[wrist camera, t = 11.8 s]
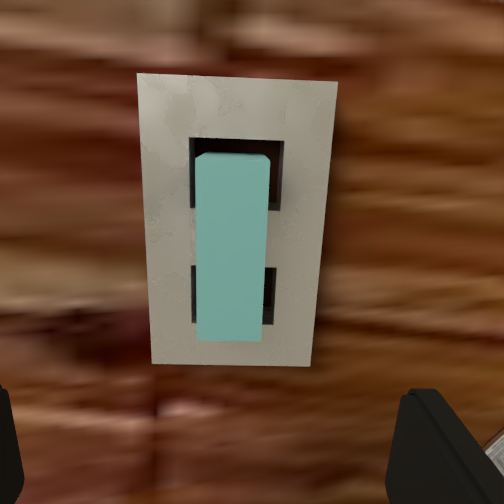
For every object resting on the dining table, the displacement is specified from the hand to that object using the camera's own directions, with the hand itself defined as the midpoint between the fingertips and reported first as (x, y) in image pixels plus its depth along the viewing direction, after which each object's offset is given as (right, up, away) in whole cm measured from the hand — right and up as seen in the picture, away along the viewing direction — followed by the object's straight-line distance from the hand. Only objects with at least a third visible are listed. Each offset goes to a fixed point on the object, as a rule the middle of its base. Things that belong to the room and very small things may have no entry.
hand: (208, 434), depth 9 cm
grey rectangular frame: (0, +6, +19) cm, 20 cm away
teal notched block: (0, +6, +19) cm, 20 cm away
